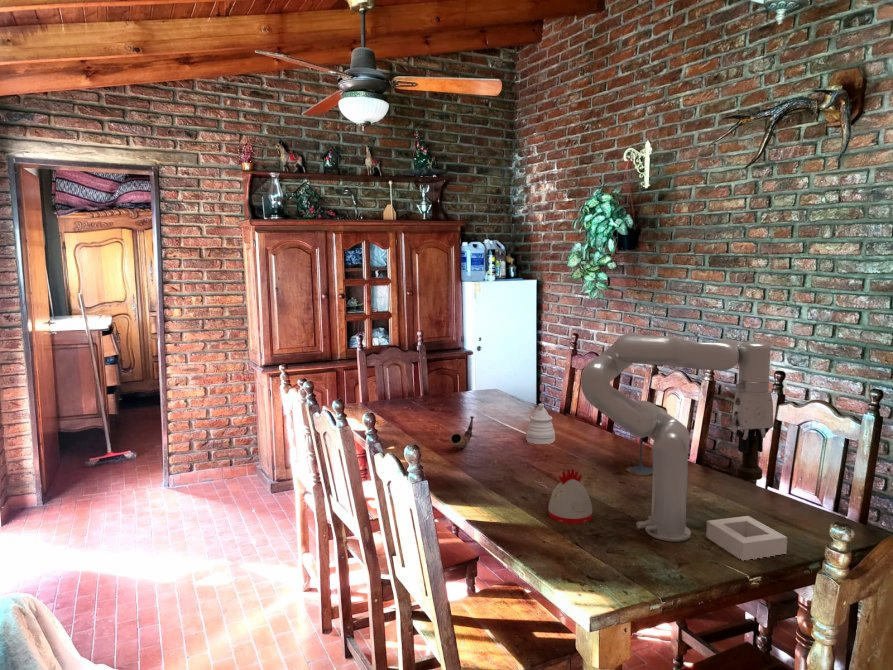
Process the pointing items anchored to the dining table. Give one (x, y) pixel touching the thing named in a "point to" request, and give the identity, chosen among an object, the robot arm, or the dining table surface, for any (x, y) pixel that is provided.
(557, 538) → the dining table surface
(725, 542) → the socket
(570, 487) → the kitchen timer
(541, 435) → the honey pot
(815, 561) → the dining table surface
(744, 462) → the pepper mill
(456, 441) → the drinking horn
